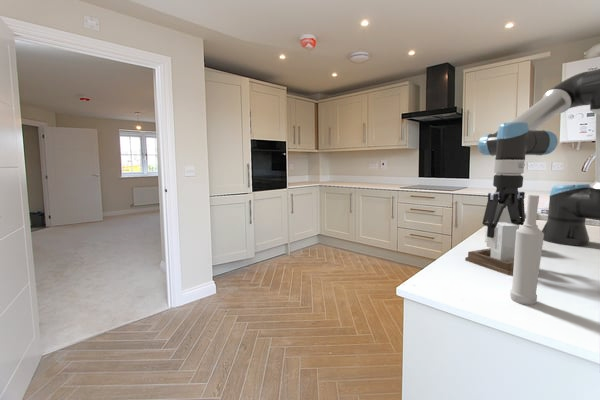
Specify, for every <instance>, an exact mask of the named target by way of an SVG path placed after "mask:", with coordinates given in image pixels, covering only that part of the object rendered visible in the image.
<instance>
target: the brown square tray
mask: <svg viewBox="0 0 600 400" xmlns="http://www.w3.org/2000/svg"><path fill="white" fill-rule="evenodd" d="M490 255H491V248H490V247H488V248H483V249H477V250H472V251H468V253H467V257H464V258H465V262H469V263H472V264H475V265H478V266H481V267H484V268H486V269H490V270H492V271H496V272H497V273H498V272H499V273H501V274H504V275H507V276H509V275H513V269H514V261H509V262H505V261H502V260H499V259H495V258H492V257H490Z"/></svg>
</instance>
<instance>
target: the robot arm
mask: <svg viewBox="0 0 600 400" xmlns="http://www.w3.org/2000/svg"><path fill="white" fill-rule="evenodd" d="M582 106H589V107H590V108H589V110H590V112H593V113H594V114H595V160H594V161H595V163H594V164H595V171H594V173H595V175H594V176H595V177H594V182H592V183H591V184H590V183H589V184H588V183H587V184H585V183H584V184H582V183H581V184H580V183H579V184H564V185H563V184H562V185H559V184H558V185H553V186H552V187H551V190H550V194H549V197H548V198H549V202H548V213H547V221H546V222H545V224H544V226H543V228H542V230H541V231H542V232H543V233H544V238H543V241H547V242H551V243H554V244H560V245H566V246H567V245H569V246H588V245H589V243H590V235H589V233H588V230H587V227H586V220H593V221H600V68H598V69H597V68H596V69H594V70H588V71H584V72H579V73H577V74H574V75H573V76H570V77H568V78H566V79H565V80H563V81H562V82H561V81H560V82H559V83H558V84H556V85H555V86H554V87H552V88H550V89H549V90H547V91H546V92H545V93H544V94H543V96H542V98H541V99H540V100H538V101H537V102H536V103H534V104H533V105H532V106H530V107H529V108H528V109H526V110H525V111H523V112H522V113H521V114H519V115H518V116H517V117H515V118H514V119H513V120H511V121H508V122H502V123H501V124H500V125H498V128H497V131H496V132H494V133H488V134H484V135H482V136H481V137H480V138H479V139H478V143H477V148H478V150H479V153H480V154H481V155H484V156H491V157H494V156H495V158H494V159H495V161H494V166H493V167H494V169H493V173H494V175H493V181H492V182H493V183H492V185H493V187H495V188H496V189H495V191H494V192H488V194H487V203H486V206H485V211H484V215H483V220H482V225H483V226H485V227H486V226H487V227H488V229H487V242H486V247H487V248H493V249H496V248H497V237H498V228H497V227H496V226H497V224H498V221H499V219H500V216H501V214H502V212H503V209H504V208H506V206H507V208H508V212H509V216H510V220H511V223H513V224H512V225H515V226H517V230H518V229H519V228H520V225H521V226H523V224H525V222H526V213H525V211H526V210H525V197H526V196H525V195H526V192H525V191H519V190H518V189H521V188H523V185H524V184H523V183H524V176H523V175H522V174H524V173H525V166H526V165H525V164H526V163H525V161H526V156H545V155H549V154H552V153H553V151H555V150H556V148H557V146H558V143H559V142H558V140H559V139H558V136H557V135H556V134H555V133H554V132H552V131H549V130H548V131H547V130H544V129H542V130H538V129H539V128H540V127H541V126H543V125H544V124H546V123H547V122H549V121H550V120H552V118H554V117H555V116H556V115H558V114H562V113H565V112H566V111H567V112H568V110H570V109H572V108H577V107H582ZM511 223H510V224H511Z"/></svg>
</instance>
